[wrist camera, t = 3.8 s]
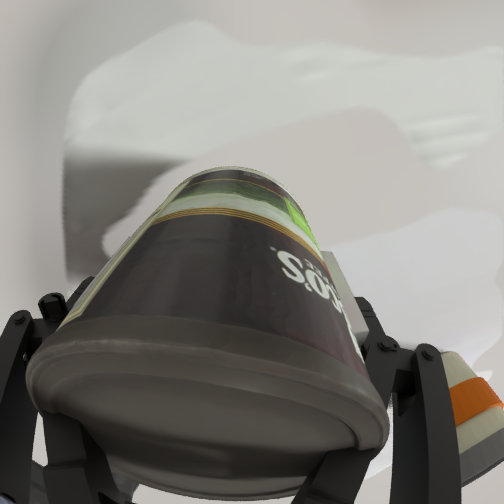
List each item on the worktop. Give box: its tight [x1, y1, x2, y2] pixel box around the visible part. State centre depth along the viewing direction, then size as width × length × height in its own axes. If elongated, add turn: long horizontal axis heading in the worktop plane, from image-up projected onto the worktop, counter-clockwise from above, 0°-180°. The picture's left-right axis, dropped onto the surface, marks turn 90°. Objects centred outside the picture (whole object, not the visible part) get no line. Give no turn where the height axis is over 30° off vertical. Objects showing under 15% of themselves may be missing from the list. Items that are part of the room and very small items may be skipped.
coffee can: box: [26, 167, 390, 501], centre depth 12 cm, size 10×10×14 cm
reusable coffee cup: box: [441, 352, 504, 488], centre depth 20 cm, size 13×13×15 cm
